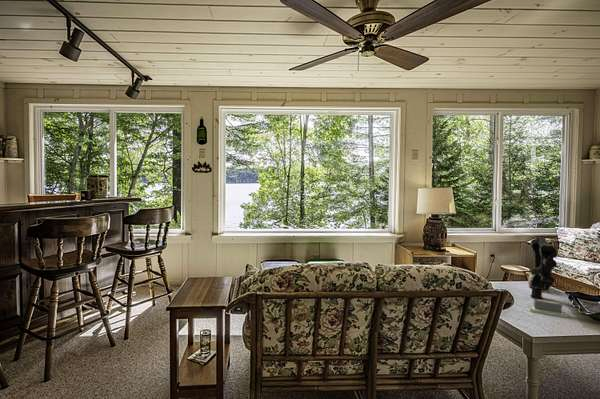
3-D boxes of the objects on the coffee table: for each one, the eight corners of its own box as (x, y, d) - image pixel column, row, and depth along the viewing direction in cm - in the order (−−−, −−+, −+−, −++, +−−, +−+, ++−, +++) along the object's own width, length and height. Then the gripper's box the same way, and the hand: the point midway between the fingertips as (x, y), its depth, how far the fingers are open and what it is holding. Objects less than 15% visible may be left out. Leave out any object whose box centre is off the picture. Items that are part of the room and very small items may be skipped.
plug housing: (533, 306, 204) (533, 298, 204) (559, 310, 198) (559, 302, 197) (534, 308, 199) (535, 300, 199) (561, 313, 193) (561, 304, 193)
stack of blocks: (528, 283, 258) (528, 268, 258) (537, 284, 256) (538, 269, 256) (538, 292, 238) (539, 275, 237) (548, 293, 236) (549, 276, 235)
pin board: (528, 306, 207) (528, 300, 207) (563, 312, 198) (564, 305, 198) (530, 311, 199) (530, 304, 199) (567, 318, 190) (567, 310, 190)
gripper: (528, 260, 218) (527, 282, 219) (533, 266, 202) (531, 290, 202) (549, 262, 213) (547, 285, 213) (555, 268, 196) (554, 293, 197)
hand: (544, 288), depth 207 cm, fingers open, 9 cm apart
